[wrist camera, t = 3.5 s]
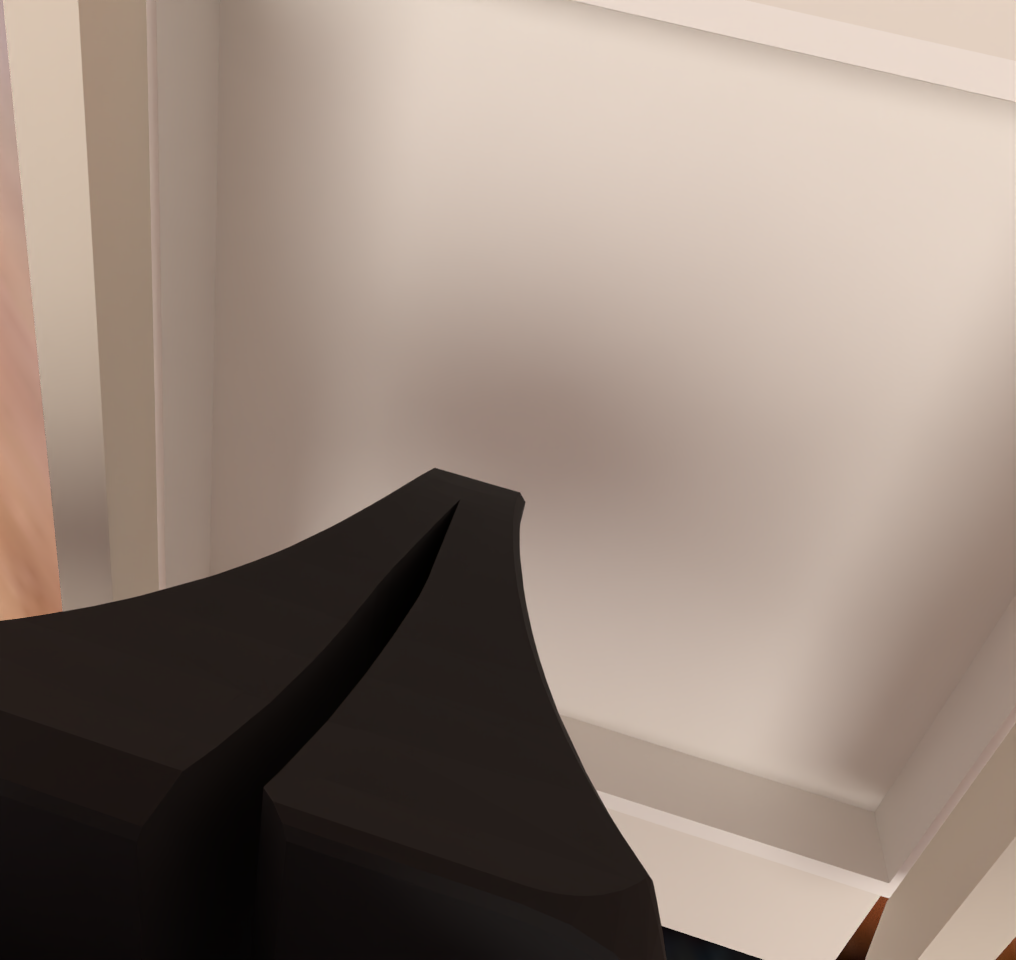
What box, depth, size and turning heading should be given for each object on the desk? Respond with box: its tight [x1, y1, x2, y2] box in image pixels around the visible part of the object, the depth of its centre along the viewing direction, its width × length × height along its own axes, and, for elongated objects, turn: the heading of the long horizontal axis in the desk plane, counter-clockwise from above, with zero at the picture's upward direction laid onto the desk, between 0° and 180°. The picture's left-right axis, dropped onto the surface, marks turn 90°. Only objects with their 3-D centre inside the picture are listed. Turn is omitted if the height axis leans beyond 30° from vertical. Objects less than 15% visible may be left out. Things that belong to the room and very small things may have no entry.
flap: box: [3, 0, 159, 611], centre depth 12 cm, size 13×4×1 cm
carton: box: [146, 0, 1016, 960], centre depth 14 cm, size 20×16×2 cm
